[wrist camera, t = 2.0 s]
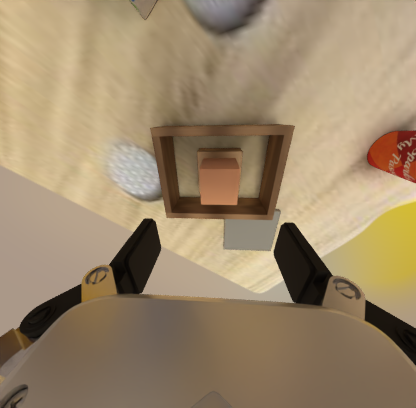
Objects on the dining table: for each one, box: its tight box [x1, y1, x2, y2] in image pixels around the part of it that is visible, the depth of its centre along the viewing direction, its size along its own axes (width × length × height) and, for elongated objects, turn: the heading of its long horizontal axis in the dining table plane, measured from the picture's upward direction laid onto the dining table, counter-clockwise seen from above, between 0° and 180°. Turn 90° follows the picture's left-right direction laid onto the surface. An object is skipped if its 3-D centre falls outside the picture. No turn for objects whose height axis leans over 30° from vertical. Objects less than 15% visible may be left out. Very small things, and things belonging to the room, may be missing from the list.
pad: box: [224, 209, 281, 251], centre depth 34 cm, size 11×11×1 cm
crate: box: [150, 124, 295, 220], centre depth 25 cm, size 18×14×6 cm
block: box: [199, 158, 240, 205], centre depth 22 cm, size 5×5×6 cm
